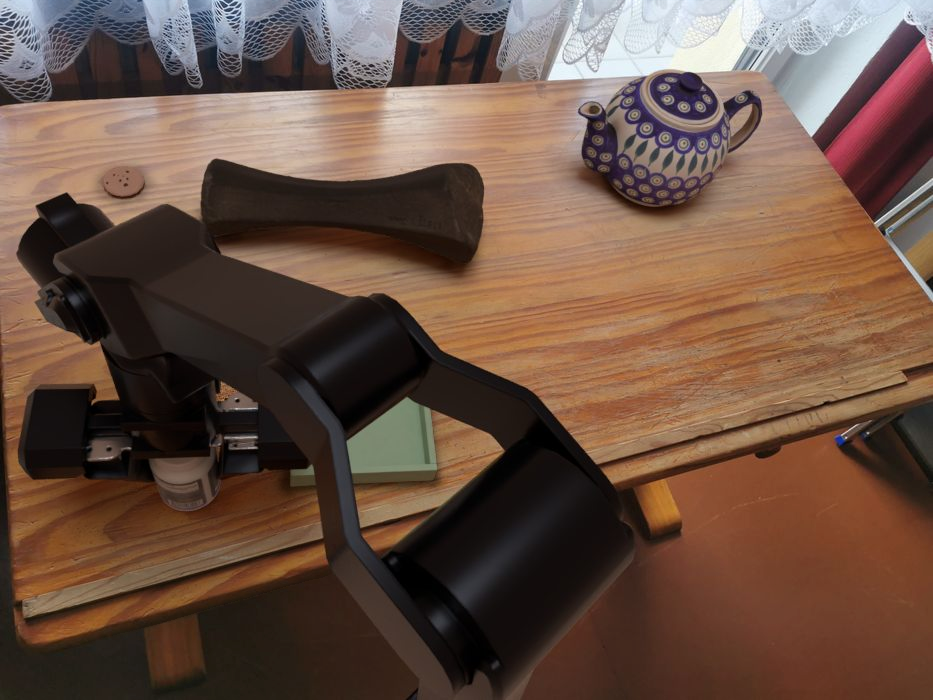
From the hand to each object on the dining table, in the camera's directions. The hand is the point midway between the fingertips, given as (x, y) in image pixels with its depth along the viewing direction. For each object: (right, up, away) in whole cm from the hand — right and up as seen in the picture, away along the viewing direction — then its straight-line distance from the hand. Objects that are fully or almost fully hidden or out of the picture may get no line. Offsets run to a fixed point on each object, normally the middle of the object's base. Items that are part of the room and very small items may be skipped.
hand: (188, 475), depth 61 cm
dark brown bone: (+9, +21, +20) cm, 31 cm away
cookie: (-13, +26, +18) cm, 34 cm away
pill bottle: (0, -1, +2) cm, 2 cm away
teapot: (+43, +31, +35) cm, 63 cm away
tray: (+12, +4, +9) cm, 16 cm away
